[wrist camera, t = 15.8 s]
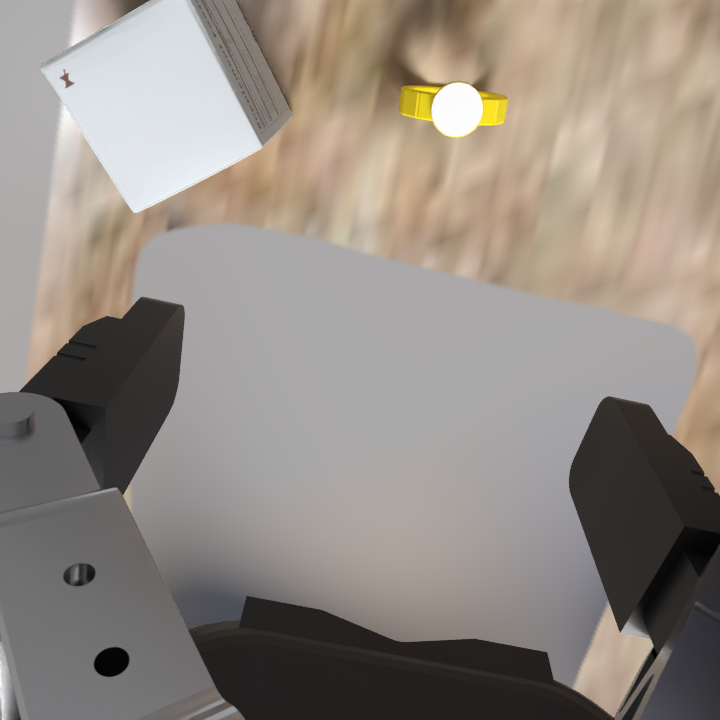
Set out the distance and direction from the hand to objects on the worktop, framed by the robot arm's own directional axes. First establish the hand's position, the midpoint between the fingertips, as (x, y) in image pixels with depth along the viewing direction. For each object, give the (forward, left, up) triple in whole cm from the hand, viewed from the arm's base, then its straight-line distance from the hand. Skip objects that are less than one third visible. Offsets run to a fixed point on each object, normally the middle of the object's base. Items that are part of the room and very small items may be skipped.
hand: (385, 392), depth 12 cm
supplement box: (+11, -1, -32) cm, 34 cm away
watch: (-3, -3, -32) cm, 32 cm away
